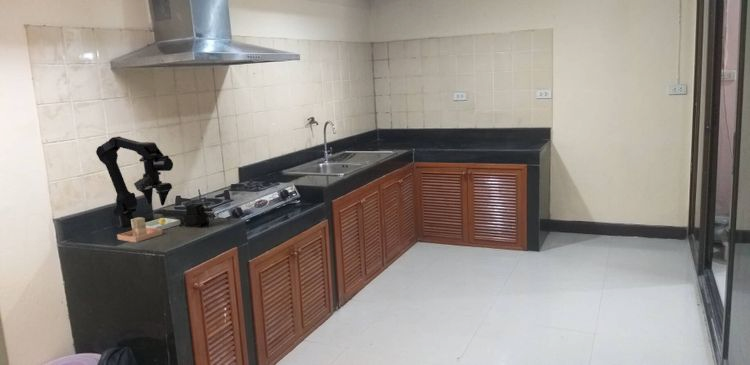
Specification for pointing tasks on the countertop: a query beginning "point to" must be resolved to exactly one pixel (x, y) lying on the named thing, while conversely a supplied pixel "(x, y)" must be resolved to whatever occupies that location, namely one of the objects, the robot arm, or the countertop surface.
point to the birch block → (138, 226)
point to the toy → (196, 216)
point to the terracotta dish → (129, 236)
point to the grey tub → (168, 224)
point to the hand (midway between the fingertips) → (156, 204)
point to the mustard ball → (162, 221)
